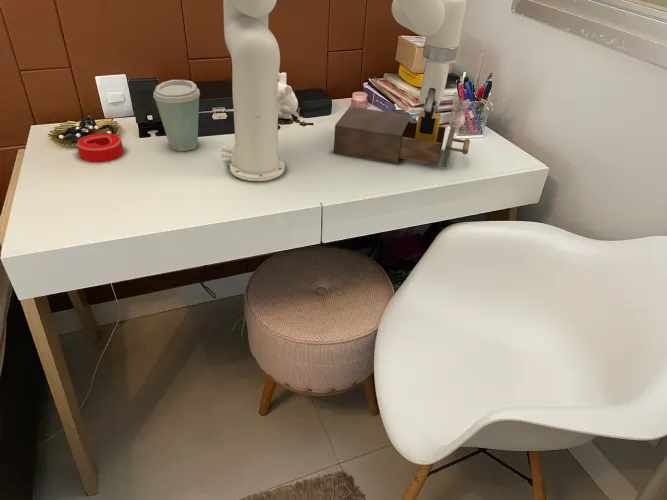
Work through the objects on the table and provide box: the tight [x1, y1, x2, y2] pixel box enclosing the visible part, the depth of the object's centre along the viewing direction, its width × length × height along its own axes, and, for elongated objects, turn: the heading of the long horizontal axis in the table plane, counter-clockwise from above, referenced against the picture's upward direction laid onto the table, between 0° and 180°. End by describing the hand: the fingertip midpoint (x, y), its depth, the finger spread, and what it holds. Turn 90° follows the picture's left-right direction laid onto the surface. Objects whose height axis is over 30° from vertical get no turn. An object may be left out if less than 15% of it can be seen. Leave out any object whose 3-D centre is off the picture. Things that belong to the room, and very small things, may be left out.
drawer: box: [399, 120, 471, 169], centre depth 131 cm, size 20×13×6 cm
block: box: [415, 110, 442, 142], centre depth 130 cm, size 5×4×9 cm
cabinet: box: [333, 105, 412, 165], centre depth 134 cm, size 16×14×7 cm
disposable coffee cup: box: [152, 79, 201, 152], centre depth 126 cm, size 11×11×15 cm
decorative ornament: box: [76, 132, 124, 163], centre depth 124 cm, size 10×10×3 cm
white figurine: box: [278, 72, 299, 120], centre depth 147 cm, size 8×7×12 cm
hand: (427, 128), depth 130 cm, fingers closed on block, 4 cm apart
